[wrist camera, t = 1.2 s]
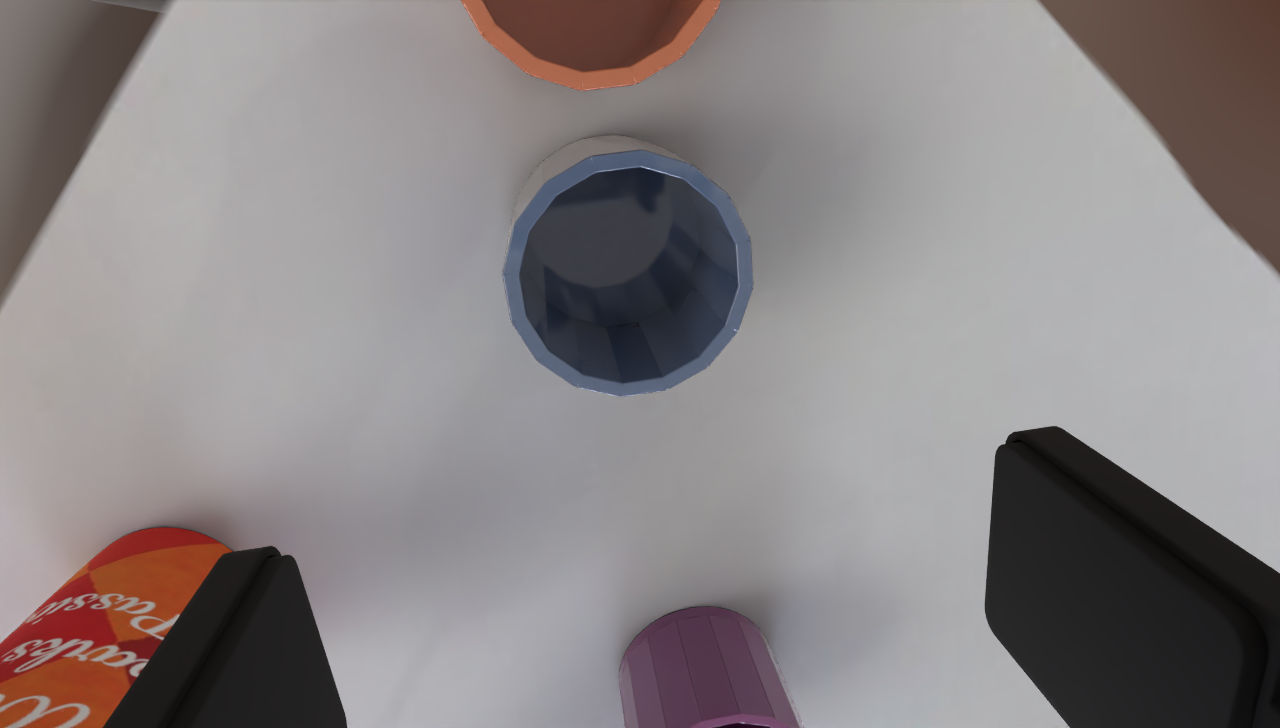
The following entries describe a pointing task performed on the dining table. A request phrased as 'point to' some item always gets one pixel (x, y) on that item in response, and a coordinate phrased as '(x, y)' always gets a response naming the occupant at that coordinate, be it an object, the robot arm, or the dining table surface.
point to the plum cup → (704, 675)
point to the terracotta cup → (591, 36)
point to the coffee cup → (101, 629)
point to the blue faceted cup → (625, 266)
